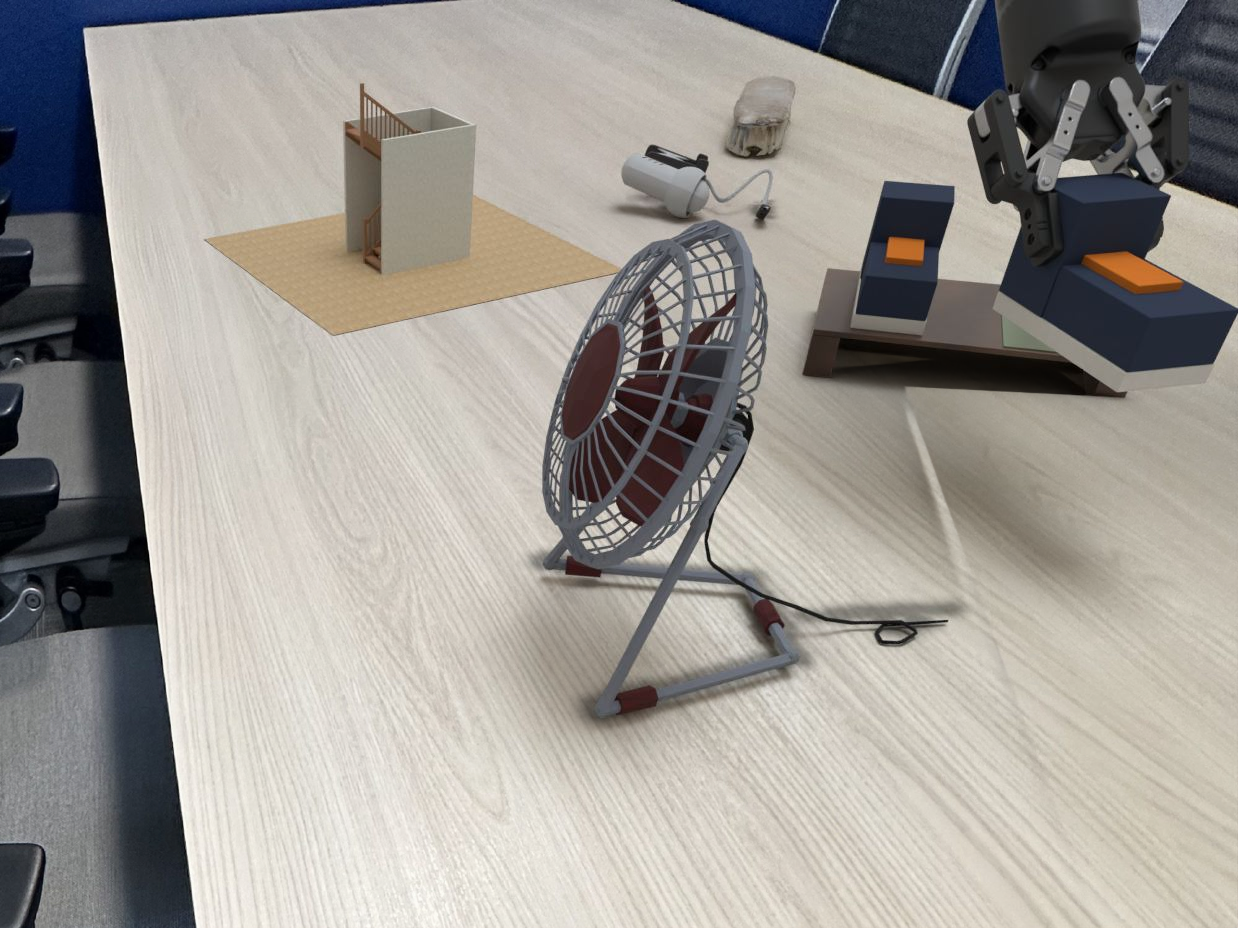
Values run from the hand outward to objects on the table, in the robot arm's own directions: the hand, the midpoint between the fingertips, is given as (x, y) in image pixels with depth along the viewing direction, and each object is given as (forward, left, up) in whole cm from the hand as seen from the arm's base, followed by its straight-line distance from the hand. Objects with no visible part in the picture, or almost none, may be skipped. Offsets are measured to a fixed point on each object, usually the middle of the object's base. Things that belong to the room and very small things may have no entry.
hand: (1096, 255), depth 77 cm
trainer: (-1, +3, -4) cm, 5 cm away
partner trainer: (+4, -31, -14) cm, 35 cm away
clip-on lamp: (+19, -71, -18) cm, 76 cm away
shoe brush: (+10, -104, -18) cm, 106 cm away
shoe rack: (-3, -30, -18) cm, 35 cm away
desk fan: (+19, +19, -18) cm, 33 cm away
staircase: (+51, -52, -18) cm, 76 cm away
